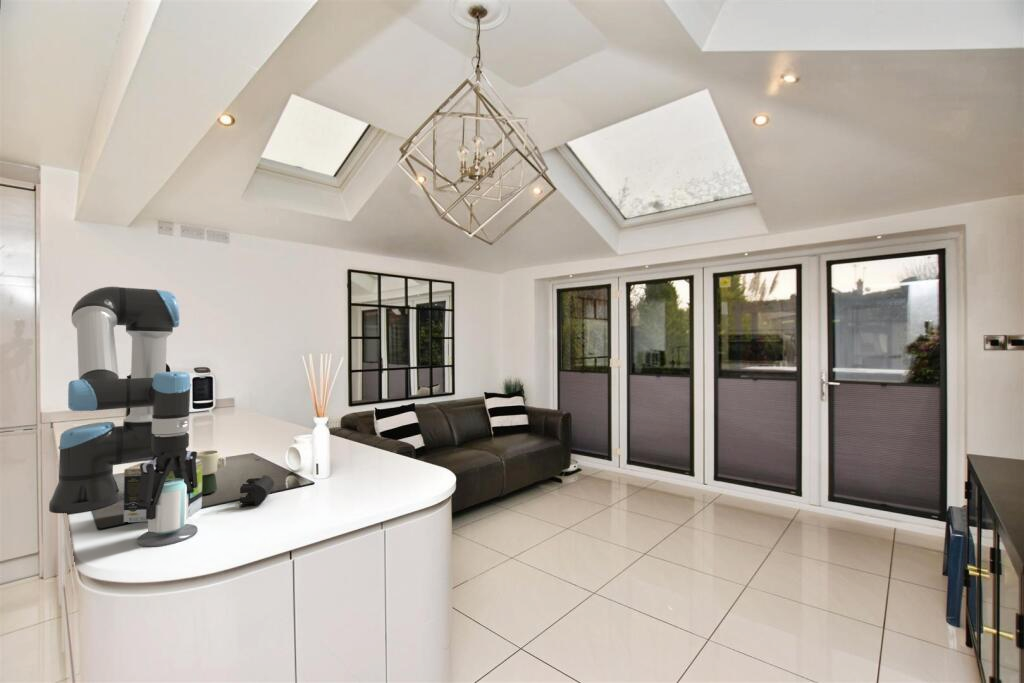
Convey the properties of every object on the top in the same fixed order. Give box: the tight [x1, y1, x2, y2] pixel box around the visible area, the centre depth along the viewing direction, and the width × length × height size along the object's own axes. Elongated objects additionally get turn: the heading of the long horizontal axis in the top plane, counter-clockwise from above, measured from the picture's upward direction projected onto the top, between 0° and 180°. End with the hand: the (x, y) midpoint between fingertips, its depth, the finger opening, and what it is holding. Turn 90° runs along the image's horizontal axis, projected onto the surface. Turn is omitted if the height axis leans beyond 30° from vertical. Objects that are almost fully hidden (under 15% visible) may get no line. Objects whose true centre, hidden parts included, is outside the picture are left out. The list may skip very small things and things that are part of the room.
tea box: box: [123, 459, 203, 523], centre depth 126 cm, size 15×10×15 cm, turn 100°
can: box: [152, 478, 187, 534], centre depth 113 cm, size 7×7×12 cm
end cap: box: [239, 475, 275, 509], centre depth 138 cm, size 10×7×7 cm
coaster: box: [136, 523, 198, 548], centre depth 113 cm, size 12×12×1 cm
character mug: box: [196, 449, 227, 495], centre depth 144 cm, size 11×7×13 cm, turn 109°
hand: (168, 524), depth 113 cm, fingers closed on can, 7 cm apart
